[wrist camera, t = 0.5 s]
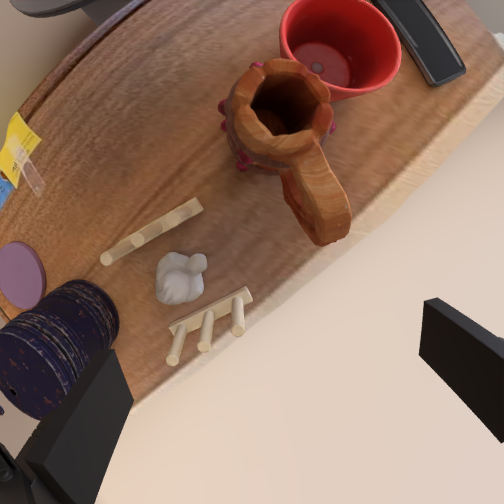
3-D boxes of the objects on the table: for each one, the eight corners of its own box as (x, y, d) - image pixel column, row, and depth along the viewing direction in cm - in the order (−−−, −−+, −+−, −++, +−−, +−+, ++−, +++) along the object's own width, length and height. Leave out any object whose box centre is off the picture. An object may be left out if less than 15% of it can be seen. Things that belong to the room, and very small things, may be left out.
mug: (212, 110, 30) (194, 57, 15) (283, 85, 30) (318, 21, 15) (264, 237, 33) (287, 282, 19) (333, 209, 33) (402, 232, 18)
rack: (120, 241, 33) (89, 259, 25) (196, 196, 32) (184, 201, 24) (177, 334, 35) (163, 372, 27) (252, 297, 35) (257, 330, 27)
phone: (407, -17, 25) (468, 72, 28) (404, -14, 26) (463, 73, 30) (368, -9, 26) (435, 88, 29) (365, -5, 27) (431, 89, 30)
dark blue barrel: (82, 262, 33) (-15, 325, 15) (135, 324, 35) (75, 425, 17) (42, 307, 34) (-42, 375, 16) (90, 362, 36) (29, 453, 18)
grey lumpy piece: (147, 269, 33) (124, 294, 26) (191, 231, 33) (178, 247, 25) (179, 305, 35) (166, 338, 27) (224, 270, 34) (221, 296, 26)
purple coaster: (-9, 260, 32) (-13, 262, 31) (25, 228, 31) (20, 230, 30) (20, 315, 34) (17, 318, 33) (57, 290, 33) (53, 292, 32)
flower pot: (256, 38, 28) (264, -7, 19) (346, 29, 28) (378, -10, 19) (281, 123, 31) (300, 100, 21) (373, 108, 31) (417, 88, 21)
